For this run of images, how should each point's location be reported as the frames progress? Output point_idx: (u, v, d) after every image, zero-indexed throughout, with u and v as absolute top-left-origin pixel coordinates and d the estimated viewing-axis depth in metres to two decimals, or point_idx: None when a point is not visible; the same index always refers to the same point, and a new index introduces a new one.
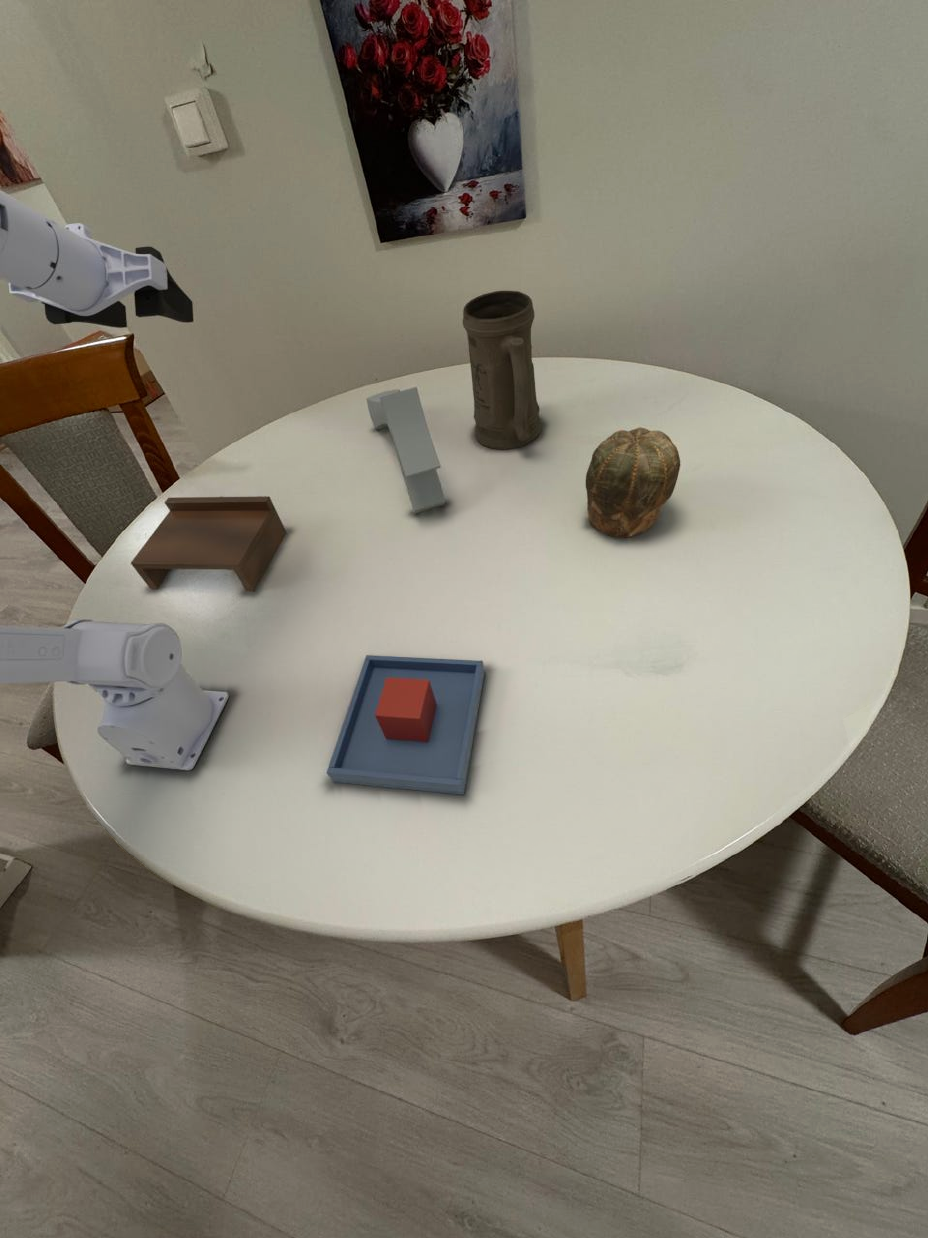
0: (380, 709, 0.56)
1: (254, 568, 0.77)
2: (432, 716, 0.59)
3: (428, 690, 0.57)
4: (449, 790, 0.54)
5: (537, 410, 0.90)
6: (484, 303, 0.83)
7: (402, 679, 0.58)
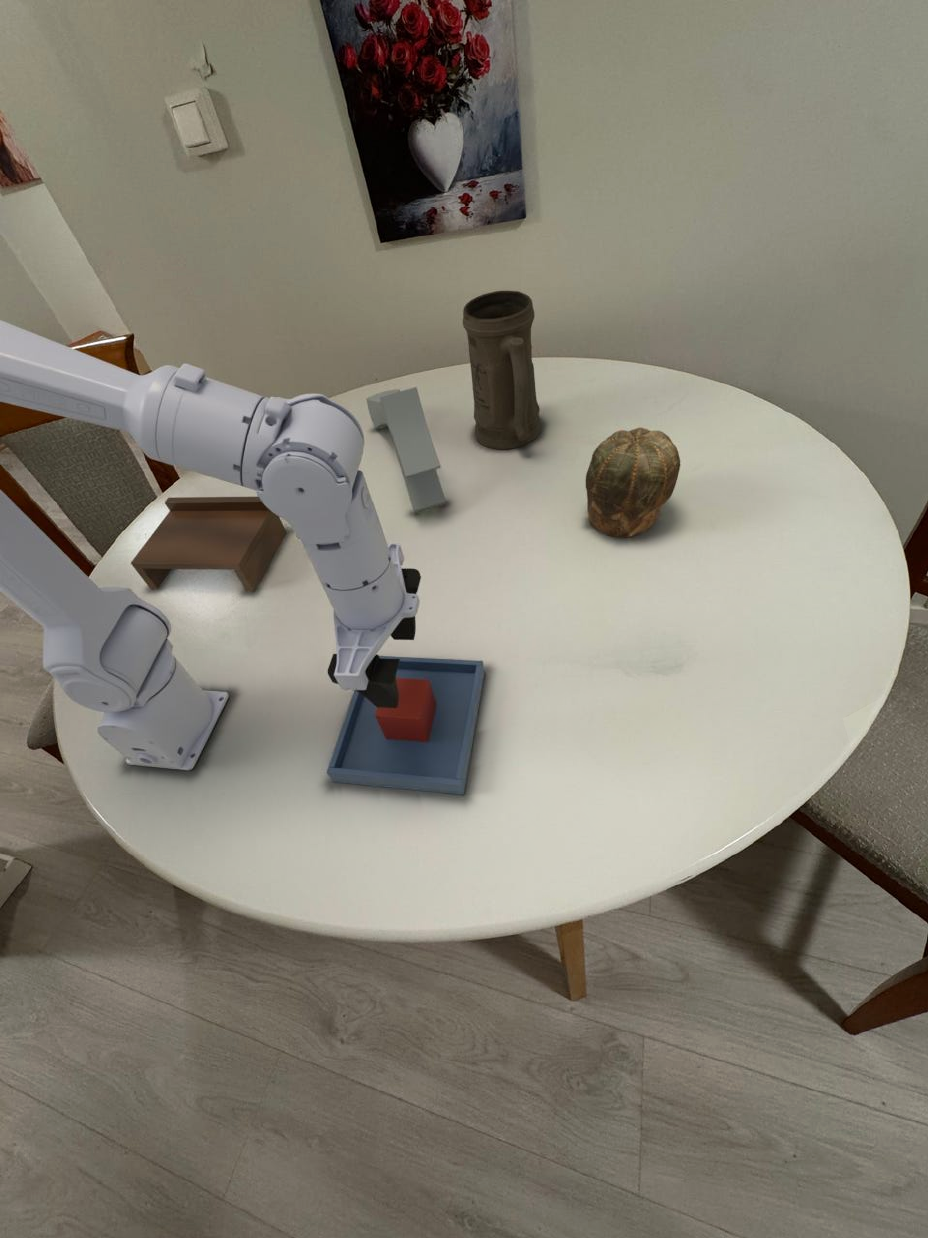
0: (380, 709, 0.56)
1: (254, 568, 0.77)
2: (432, 716, 0.59)
3: (428, 690, 0.57)
4: (449, 790, 0.54)
5: (537, 410, 0.90)
6: (484, 303, 0.83)
7: (402, 679, 0.58)
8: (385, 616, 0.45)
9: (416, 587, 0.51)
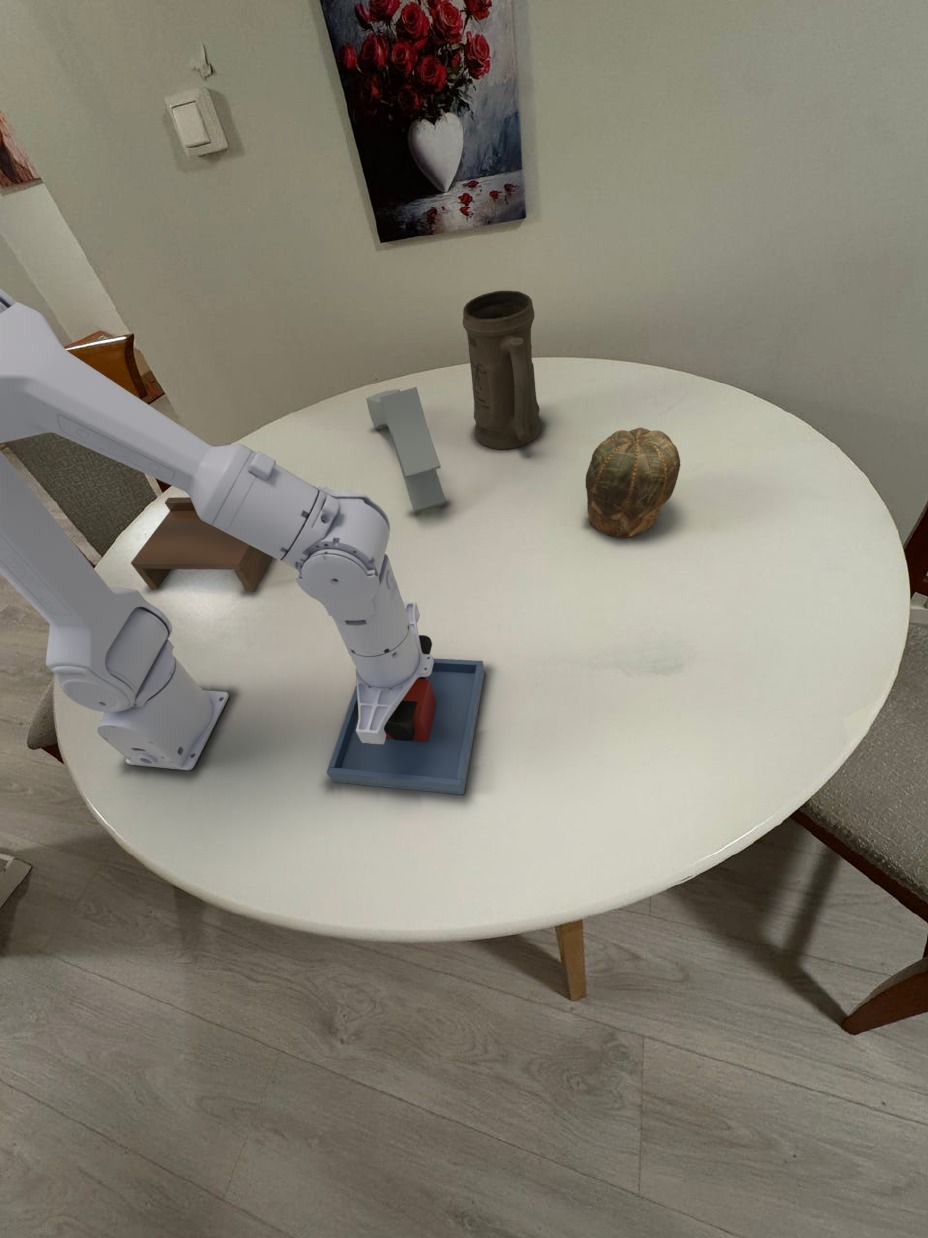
0: None
1: (254, 568, 0.77)
2: (432, 716, 0.59)
3: (428, 690, 0.57)
4: (449, 790, 0.54)
5: (537, 410, 0.90)
6: (484, 303, 0.83)
7: None
8: (402, 677, 0.50)
9: None
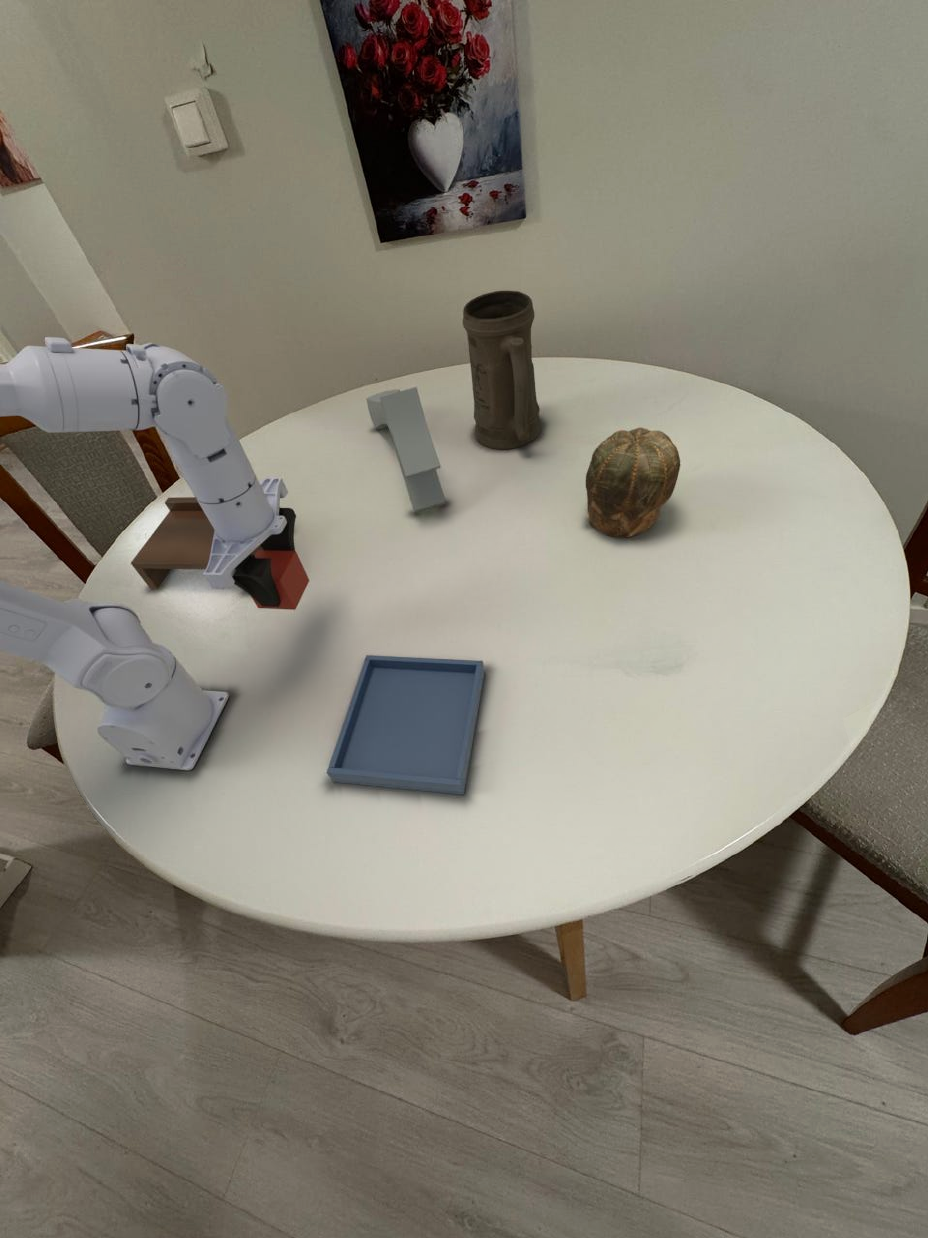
0: None
1: None
2: (302, 588, 0.64)
3: (294, 560, 0.62)
4: (449, 790, 0.54)
5: (537, 410, 0.90)
6: (484, 303, 0.83)
7: (272, 551, 0.63)
8: (252, 530, 0.55)
9: (288, 522, 0.59)
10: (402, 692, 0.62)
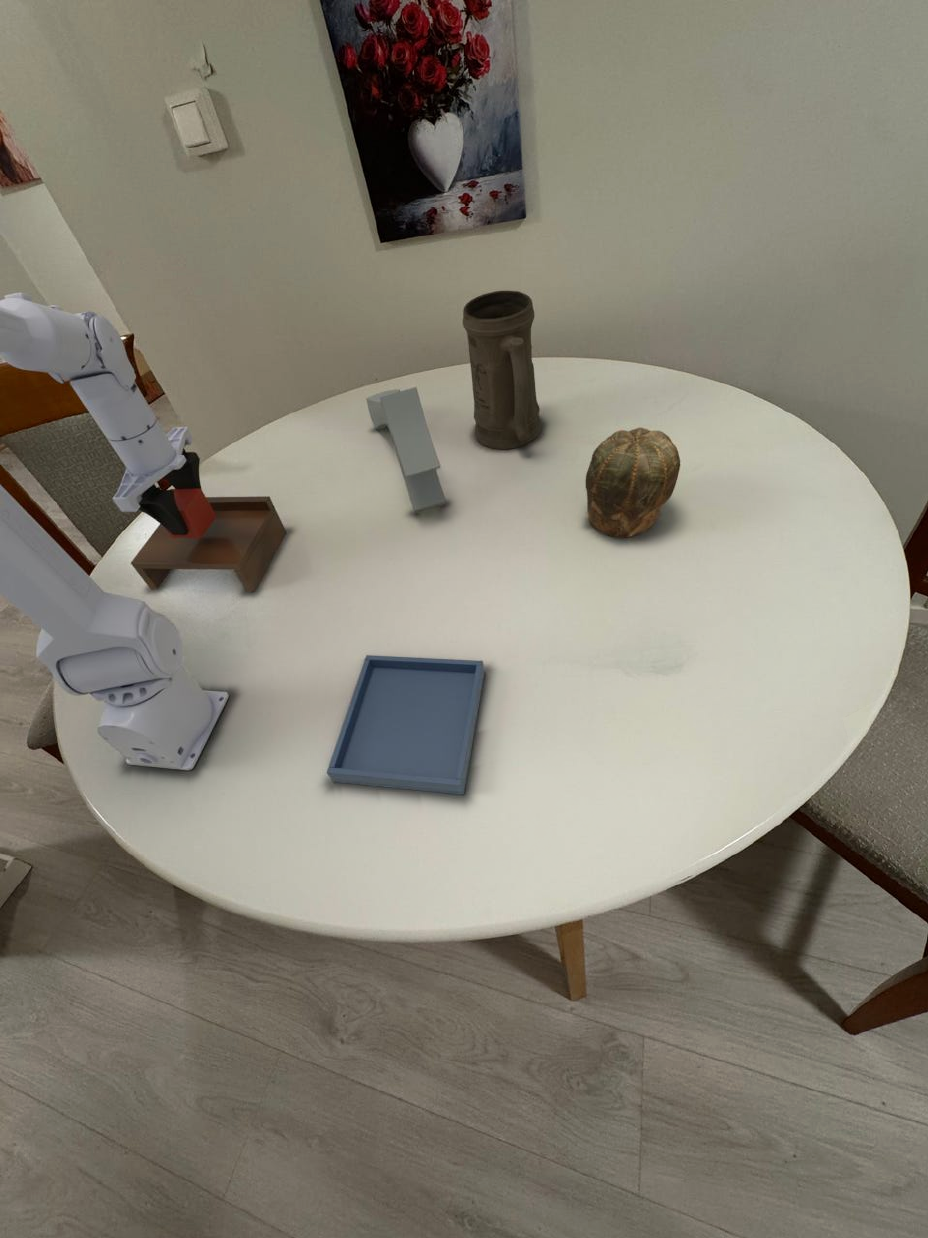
0: None
1: (254, 568, 0.77)
2: (208, 521, 0.76)
3: (199, 496, 0.74)
4: (449, 790, 0.54)
5: (537, 410, 0.90)
6: (484, 303, 0.83)
7: (181, 489, 0.75)
8: (155, 465, 0.67)
9: (190, 463, 0.72)
10: (402, 692, 0.62)
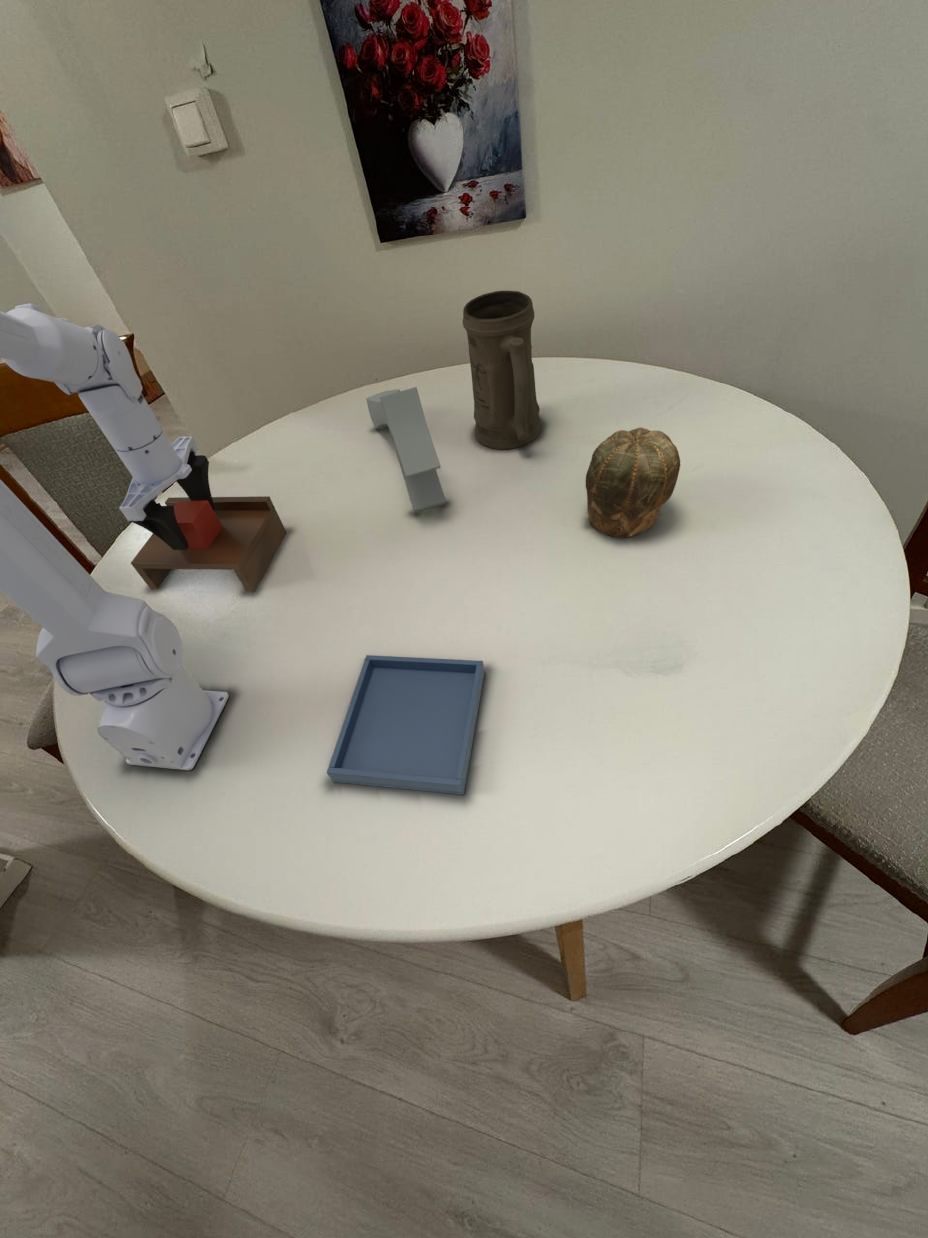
0: None
1: (254, 568, 0.77)
2: (215, 532, 0.78)
3: (206, 508, 0.76)
4: (449, 790, 0.54)
5: (537, 410, 0.90)
6: (484, 303, 0.83)
7: (188, 501, 0.76)
8: (161, 475, 0.68)
9: (200, 466, 0.74)
10: (402, 692, 0.62)
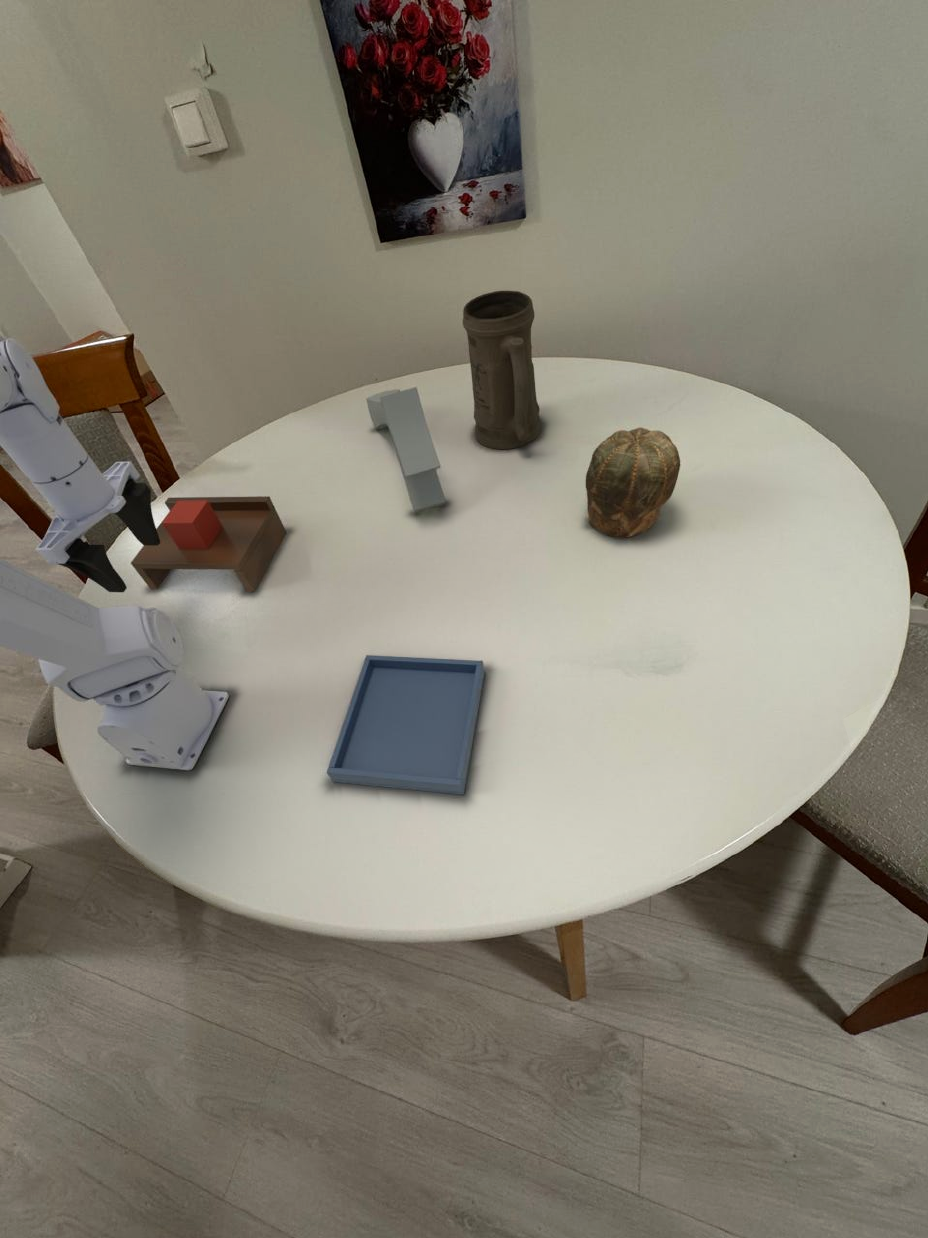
0: (166, 518, 0.74)
1: (254, 568, 0.77)
2: (215, 532, 0.78)
3: (206, 508, 0.76)
4: (449, 790, 0.54)
5: (537, 410, 0.90)
6: (484, 303, 0.83)
7: (188, 501, 0.76)
8: (87, 509, 0.58)
9: (139, 496, 0.64)
10: (402, 692, 0.62)
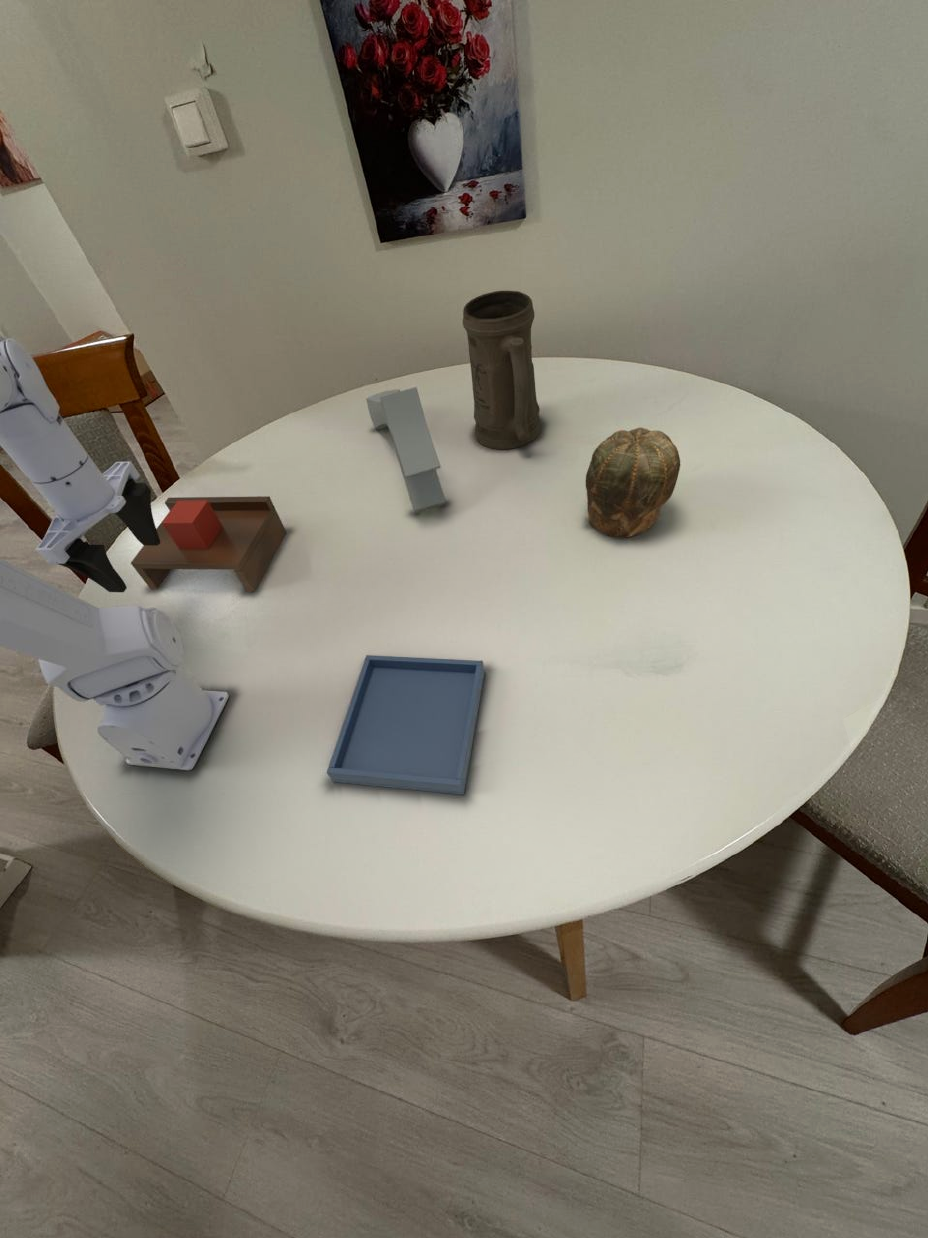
0: (166, 518, 0.74)
1: (254, 568, 0.77)
2: (215, 532, 0.78)
3: (206, 508, 0.76)
4: (449, 790, 0.54)
5: (537, 410, 0.90)
6: (484, 303, 0.83)
7: (188, 501, 0.76)
8: (87, 509, 0.58)
9: (139, 496, 0.64)
10: (402, 692, 0.62)
